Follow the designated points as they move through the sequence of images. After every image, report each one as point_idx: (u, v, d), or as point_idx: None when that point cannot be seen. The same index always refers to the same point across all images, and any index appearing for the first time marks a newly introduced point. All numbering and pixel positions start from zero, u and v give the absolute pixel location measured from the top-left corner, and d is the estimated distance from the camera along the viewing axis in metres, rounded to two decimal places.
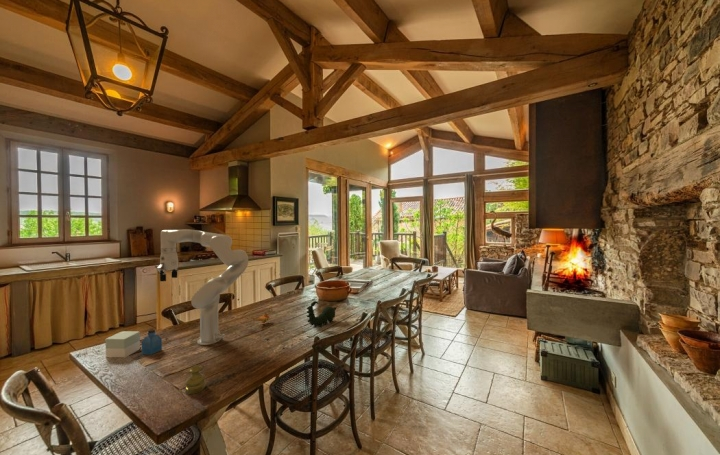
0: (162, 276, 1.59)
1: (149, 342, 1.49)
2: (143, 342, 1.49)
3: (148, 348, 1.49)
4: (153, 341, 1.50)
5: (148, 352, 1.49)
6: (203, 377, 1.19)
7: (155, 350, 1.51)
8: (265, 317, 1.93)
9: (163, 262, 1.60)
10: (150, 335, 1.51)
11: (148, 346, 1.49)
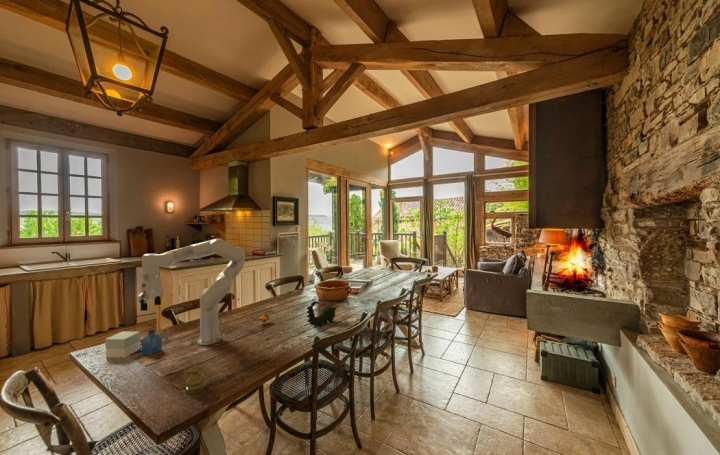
0: (143, 305, 1.46)
1: (149, 342, 1.49)
2: (143, 342, 1.49)
3: (148, 348, 1.49)
4: (153, 341, 1.50)
5: (148, 352, 1.49)
6: (203, 377, 1.19)
7: (155, 350, 1.51)
8: (265, 317, 1.93)
9: (144, 290, 1.46)
10: (150, 335, 1.51)
11: (148, 346, 1.49)
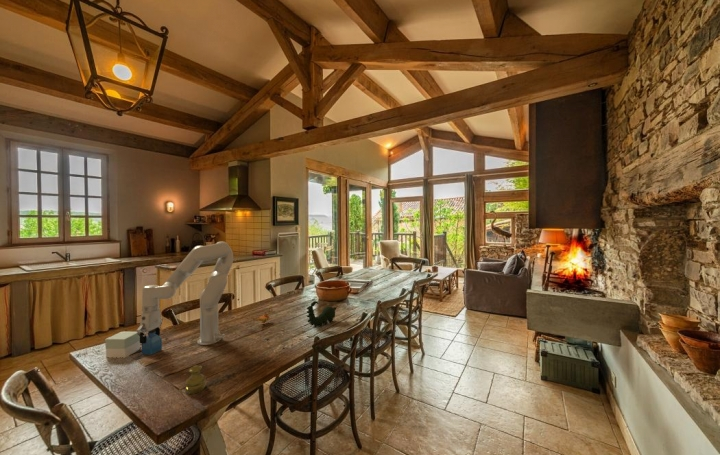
0: (142, 338, 1.46)
1: (149, 342, 1.49)
2: None
3: (148, 348, 1.49)
4: (153, 341, 1.50)
5: (148, 352, 1.49)
6: (203, 377, 1.19)
7: (155, 350, 1.51)
8: (265, 317, 1.93)
9: (144, 322, 1.47)
10: (150, 335, 1.51)
11: (148, 346, 1.49)
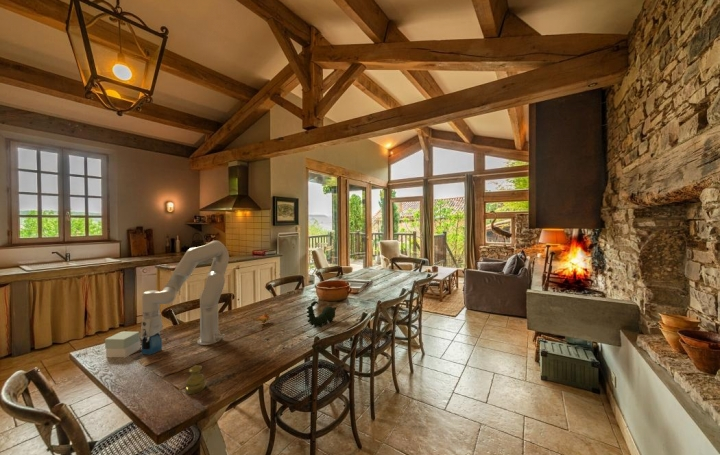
0: (145, 344, 1.47)
1: None
2: None
3: None
4: (153, 341, 1.50)
5: (148, 352, 1.49)
6: (203, 377, 1.19)
7: (155, 350, 1.51)
8: (265, 317, 1.93)
9: (145, 328, 1.47)
10: None
11: None
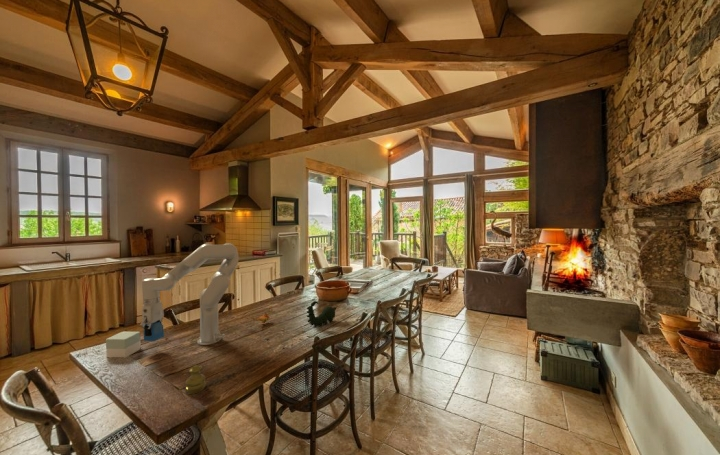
0: (147, 331, 1.48)
1: (151, 329, 1.49)
2: None
3: None
4: (155, 328, 1.50)
5: (150, 339, 1.49)
6: (203, 377, 1.19)
7: (157, 337, 1.51)
8: (265, 317, 1.93)
9: (146, 315, 1.47)
10: None
11: None
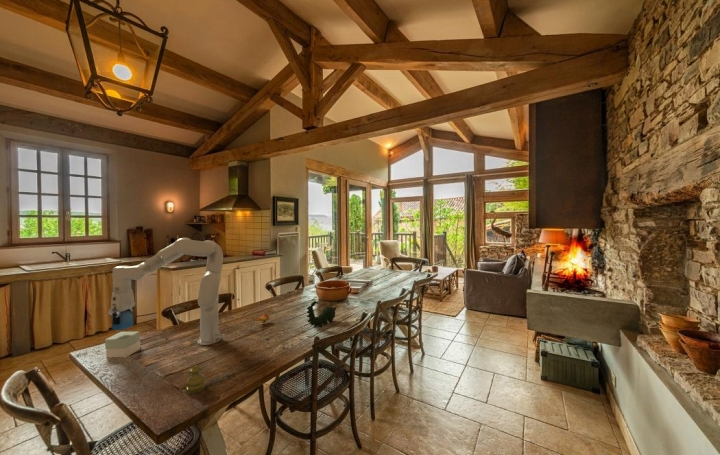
0: (115, 319, 1.45)
1: None
2: None
3: None
4: (124, 316, 1.48)
5: (118, 327, 1.47)
6: (203, 377, 1.19)
7: (125, 326, 1.48)
8: (265, 317, 1.93)
9: (115, 303, 1.45)
10: None
11: None
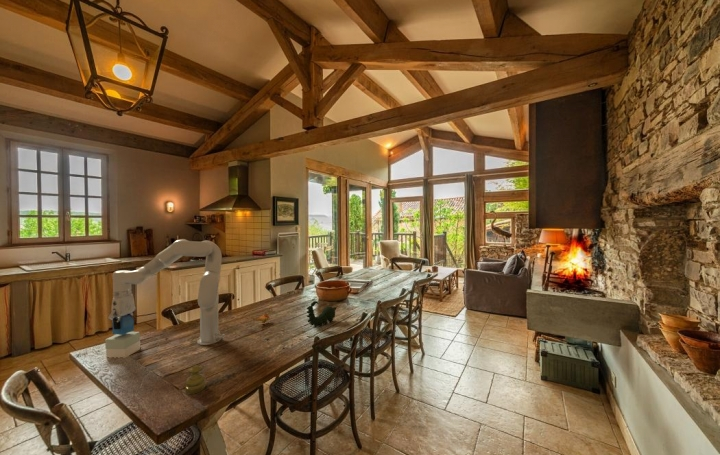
0: (116, 324, 1.45)
1: (120, 322, 1.47)
2: None
3: None
4: (125, 321, 1.48)
5: (119, 332, 1.47)
6: (203, 377, 1.19)
7: (126, 330, 1.48)
8: (265, 317, 1.93)
9: (115, 308, 1.45)
10: None
11: None
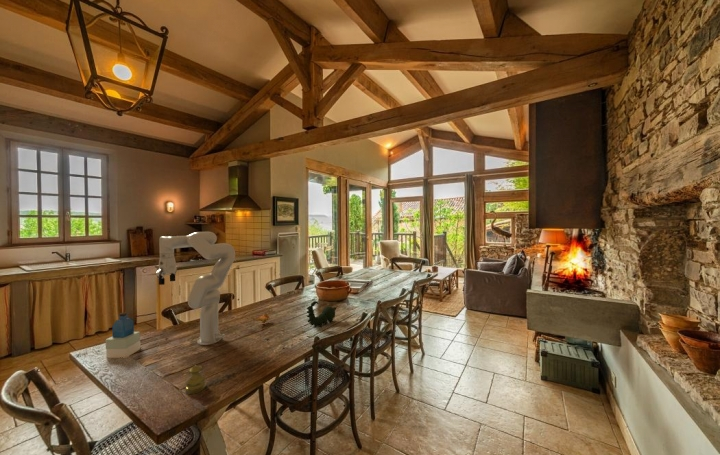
0: (161, 280, 1.69)
1: (121, 325, 1.47)
2: (114, 325, 1.47)
3: (121, 331, 1.47)
4: (126, 324, 1.48)
5: (120, 335, 1.47)
6: (203, 377, 1.19)
7: (127, 333, 1.49)
8: (265, 317, 1.93)
9: (162, 267, 1.70)
10: (122, 318, 1.48)
11: (120, 329, 1.47)
